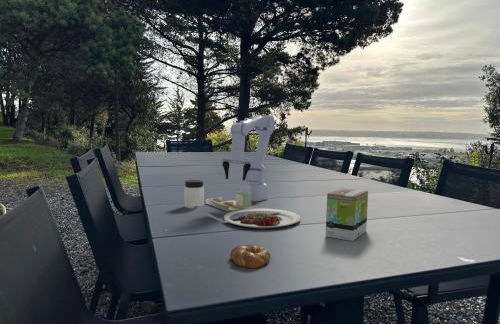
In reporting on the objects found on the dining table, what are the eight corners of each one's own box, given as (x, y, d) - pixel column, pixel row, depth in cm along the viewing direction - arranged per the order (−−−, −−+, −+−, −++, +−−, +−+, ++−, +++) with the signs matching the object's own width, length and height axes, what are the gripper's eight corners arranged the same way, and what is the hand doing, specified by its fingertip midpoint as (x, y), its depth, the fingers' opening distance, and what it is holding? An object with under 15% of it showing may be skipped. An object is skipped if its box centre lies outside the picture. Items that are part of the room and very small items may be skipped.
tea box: (354, 242, 118) (356, 195, 116) (324, 237, 123) (325, 193, 122) (367, 231, 130) (368, 189, 129) (339, 227, 136) (340, 187, 134)
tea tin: (243, 203, 173) (243, 191, 172) (251, 206, 167) (251, 193, 166) (235, 204, 171) (235, 191, 170) (243, 207, 165) (243, 194, 164)
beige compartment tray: (235, 201, 183) (235, 195, 182) (258, 209, 166) (258, 202, 166) (206, 205, 174) (206, 199, 174) (226, 213, 157) (226, 206, 157)
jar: (207, 207, 170) (207, 181, 169) (191, 209, 165) (191, 182, 164) (196, 204, 177) (196, 179, 176) (181, 206, 172) (181, 180, 171)
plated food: (260, 209, 167) (260, 202, 166) (316, 221, 145) (316, 213, 145) (207, 220, 146) (207, 212, 145) (263, 236, 124) (263, 226, 124)
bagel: (273, 269, 95) (273, 255, 94) (231, 270, 94) (231, 256, 93) (267, 254, 107) (267, 241, 106) (229, 254, 106) (229, 242, 105)
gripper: (223, 147, 161) (220, 178, 160) (255, 150, 164) (253, 181, 163) (220, 148, 168) (218, 178, 167) (251, 151, 171) (249, 181, 170)
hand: (235, 179), depth 166 cm, fingers open, 7 cm apart
